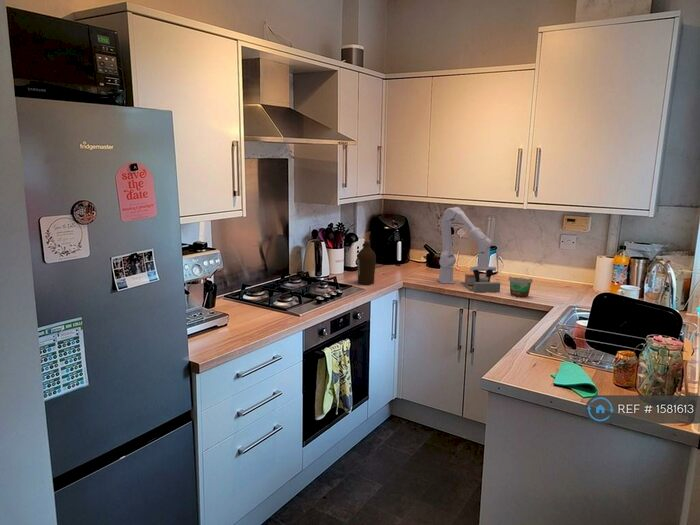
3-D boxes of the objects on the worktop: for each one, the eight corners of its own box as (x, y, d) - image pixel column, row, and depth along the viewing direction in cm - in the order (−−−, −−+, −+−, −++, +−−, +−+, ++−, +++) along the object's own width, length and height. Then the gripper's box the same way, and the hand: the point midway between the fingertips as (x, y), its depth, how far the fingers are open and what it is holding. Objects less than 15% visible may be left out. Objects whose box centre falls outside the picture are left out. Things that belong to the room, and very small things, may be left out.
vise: (461, 283, 297) (461, 275, 296) (488, 283, 299) (489, 275, 298) (472, 292, 278) (473, 283, 277) (501, 292, 280) (502, 283, 279)
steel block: (475, 287, 290) (476, 275, 288) (484, 287, 290) (485, 275, 289) (478, 289, 285) (479, 277, 283) (487, 289, 285) (488, 277, 284)
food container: (505, 295, 272) (506, 277, 270) (507, 293, 278) (509, 275, 276) (529, 299, 267) (531, 280, 265) (531, 296, 272) (532, 278, 270)
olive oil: (375, 281, 299) (376, 239, 294) (374, 285, 289) (375, 242, 283) (357, 280, 300) (358, 238, 295) (356, 285, 289) (356, 241, 284)
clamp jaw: (464, 284, 295) (465, 273, 294) (488, 283, 297) (488, 273, 295) (466, 285, 292) (467, 275, 291) (490, 285, 293) (490, 275, 292)
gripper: (473, 261, 279) (472, 285, 282) (499, 260, 281) (497, 284, 284) (469, 258, 286) (467, 282, 289) (494, 258, 288) (492, 281, 290)
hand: (482, 283), depth 287 cm, fingers closed on steel block, 5 cm apart
